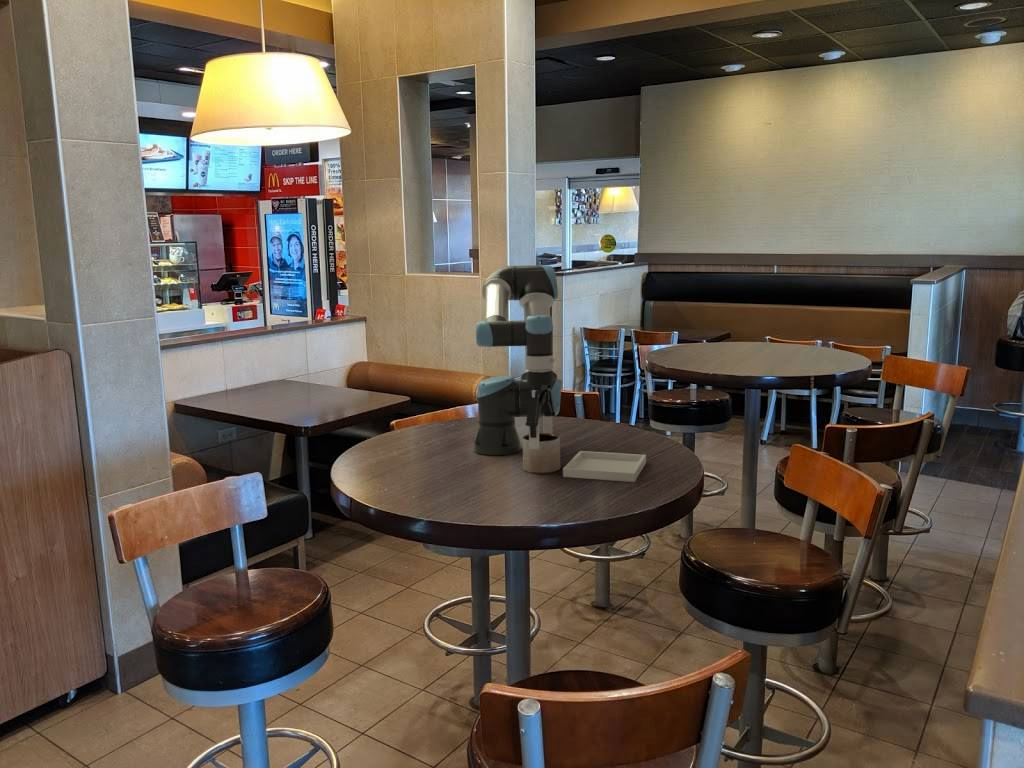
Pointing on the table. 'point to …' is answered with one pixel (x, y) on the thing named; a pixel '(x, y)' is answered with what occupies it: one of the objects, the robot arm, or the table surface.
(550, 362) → the robot arm
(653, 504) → the table surface
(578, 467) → the tray
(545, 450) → the planter
